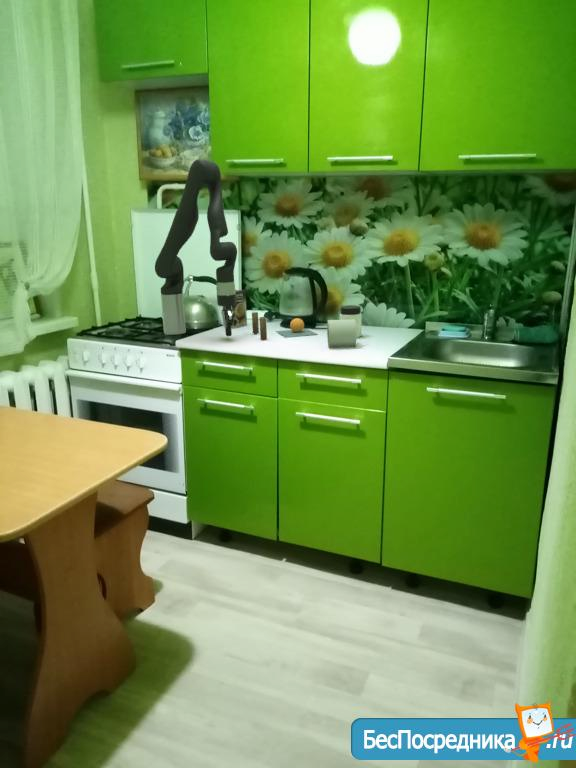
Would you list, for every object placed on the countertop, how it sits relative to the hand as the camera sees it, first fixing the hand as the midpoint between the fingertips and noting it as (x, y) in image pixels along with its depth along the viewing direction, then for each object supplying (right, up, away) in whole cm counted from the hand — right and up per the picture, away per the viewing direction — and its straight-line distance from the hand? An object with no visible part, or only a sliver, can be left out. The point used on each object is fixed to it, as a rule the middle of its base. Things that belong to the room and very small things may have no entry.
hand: (228, 335), depth 242 cm
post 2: (+14, -2, -2) cm, 15 cm away
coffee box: (0, +6, +29) cm, 29 cm away
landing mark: (+28, +2, +8) cm, 29 cm away
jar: (+50, -1, -1) cm, 50 cm away
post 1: (+11, +2, +10) cm, 15 cm away
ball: (+28, +5, +9) cm, 30 cm away
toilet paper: (+45, -6, -18) cm, 48 cm away
